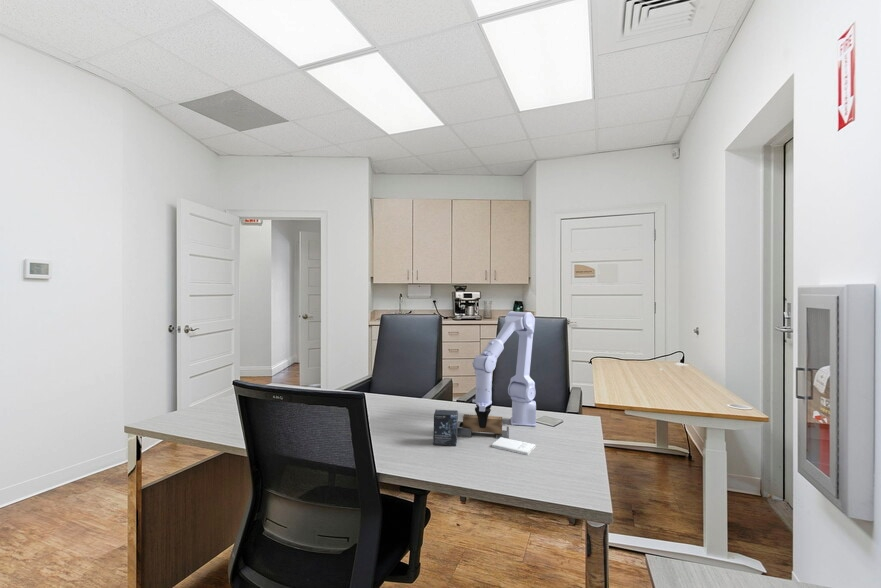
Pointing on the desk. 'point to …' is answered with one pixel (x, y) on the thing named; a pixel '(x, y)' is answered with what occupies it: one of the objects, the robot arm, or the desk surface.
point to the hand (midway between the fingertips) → (483, 425)
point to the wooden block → (491, 427)
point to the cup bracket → (463, 430)
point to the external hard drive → (513, 445)
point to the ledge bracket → (503, 434)
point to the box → (445, 427)
